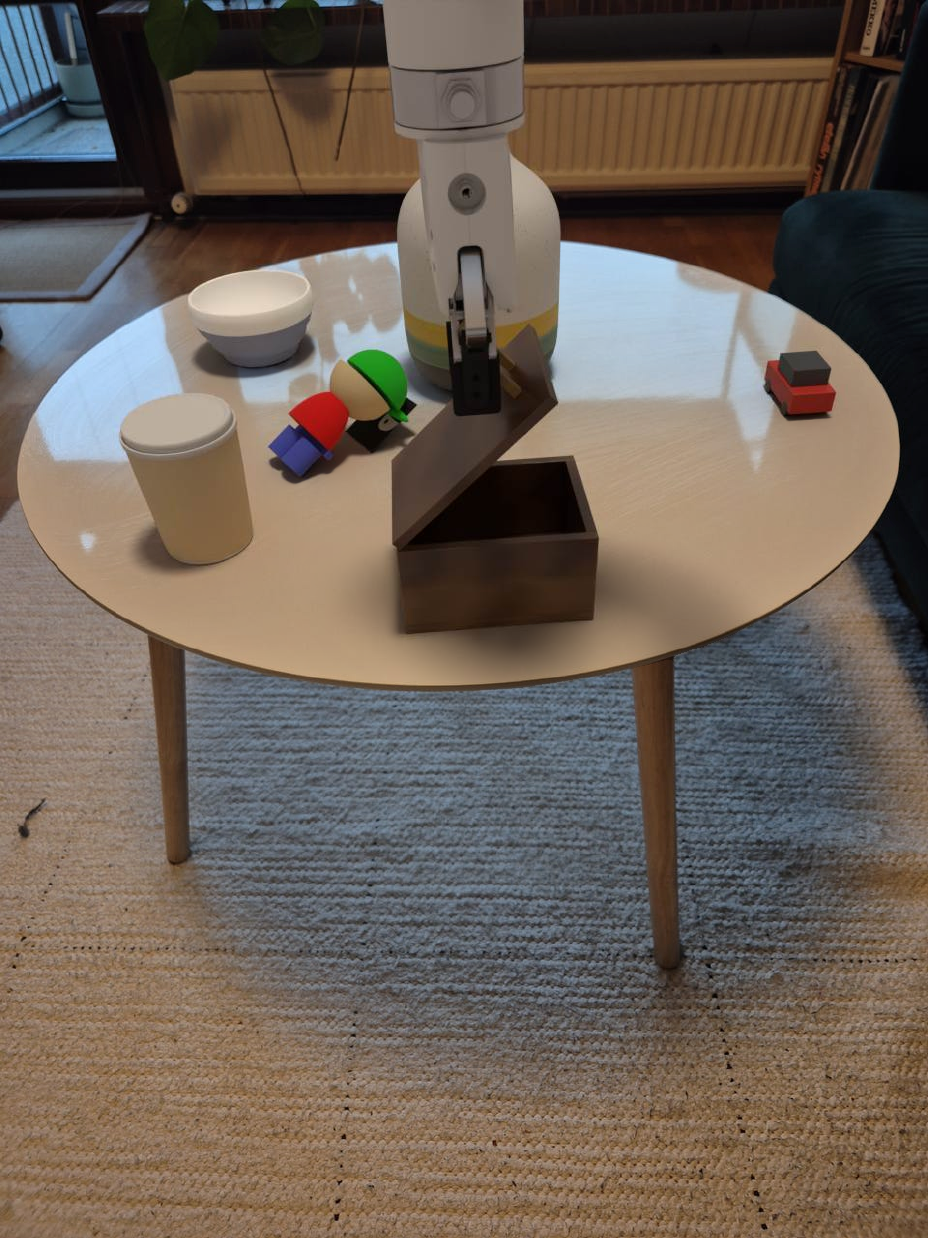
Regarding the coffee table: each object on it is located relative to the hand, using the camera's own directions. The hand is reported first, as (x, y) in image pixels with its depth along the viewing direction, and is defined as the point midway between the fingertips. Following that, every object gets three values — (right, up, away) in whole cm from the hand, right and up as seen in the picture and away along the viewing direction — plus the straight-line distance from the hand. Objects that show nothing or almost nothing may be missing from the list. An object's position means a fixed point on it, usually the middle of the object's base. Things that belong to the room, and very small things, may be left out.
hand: (474, 390), depth 62 cm
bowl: (-26, +16, +47) cm, 56 cm away
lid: (0, -3, +2) cm, 4 cm away
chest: (+2, -13, +11) cm, 17 cm away
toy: (-13, +1, +29) cm, 31 cm away
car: (+34, +7, +32) cm, 47 cm away
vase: (+1, +12, +40) cm, 42 cm away
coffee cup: (-23, -9, +18) cm, 31 cm away
